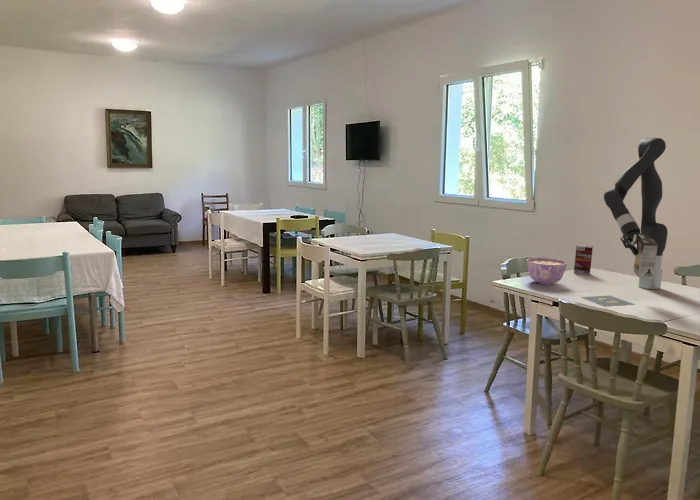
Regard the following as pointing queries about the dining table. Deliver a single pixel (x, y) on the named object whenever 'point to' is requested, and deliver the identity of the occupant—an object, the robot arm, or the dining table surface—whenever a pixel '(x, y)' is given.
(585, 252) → the supplement box
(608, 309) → the dining table surface
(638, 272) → the coffee box
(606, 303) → the mat
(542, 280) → the bowl of food
